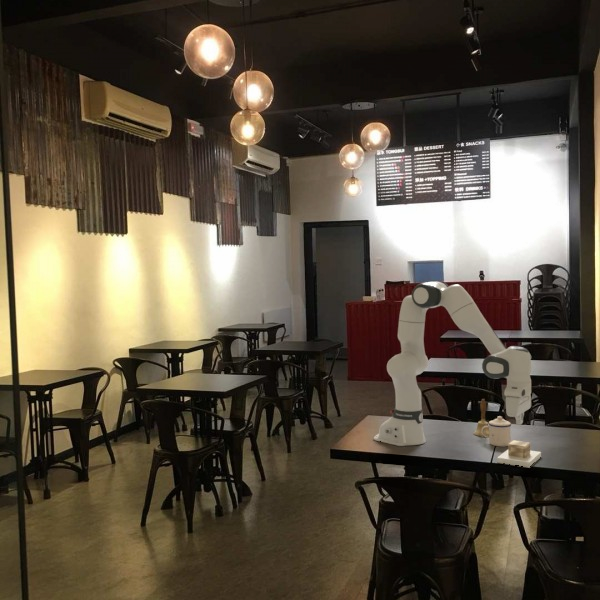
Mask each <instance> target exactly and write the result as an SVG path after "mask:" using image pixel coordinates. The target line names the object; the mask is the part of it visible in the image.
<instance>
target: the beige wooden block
mask: <svg viewBox="0 0 600 600" xmlns="http://www.w3.org/2000/svg"><path fill="white" fill-rule="evenodd" d="M507 450H508V455H509V456H515V457H522V458H526V457H527V456H528V455H529V454H530V450H531V442H529V441H521V440H514V439H513V440H511V442H510V443H509V444H508V446H507Z"/></svg>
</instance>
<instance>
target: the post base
mask: <svg viewBox="0 0 600 600" xmlns="http://www.w3.org/2000/svg"><path fill="white" fill-rule="evenodd" d="M540 457H541V458H542V451H538V450H537V451H535V450H531V449H530V454H529V455H528V456H527V457H526V458H522V457H515V456H509V455H508V449H506V450H505V451H504V452H502V453H501V454H500V455H498V456H497V459H496V461H497V462H496V463H498V464H503V463H505V464H504V465H509V464H510V465H509V466H515V465H519V466H518V467H521V466H523V467H522V468H529V469H530V468H531V467H532V466H533V465H534V464H535V463H537V461H538V460H539V459H541V458H540ZM534 462H535V463H534ZM533 463H534V464H533ZM532 464H533V465H532ZM531 465H532V466H531ZM530 466H531V467H530Z"/></svg>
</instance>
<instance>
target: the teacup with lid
mask: <svg viewBox="0 0 600 600" xmlns="http://www.w3.org/2000/svg"><path fill="white" fill-rule="evenodd" d="M511 426H512V423H511V422H510V421H508V420H505V419H504V418H503V416H501V415H499V416H497V418H494V419H493V420H490V421H488V426H484V427H483V428H482V434H483V435H484V436H483V437H485V438H488V439H489V441H488V443H489V444H490V445H492V446H495V447H508V444H509V443H510V442H512V440H511V437H512V436H511ZM484 428H489V436H487V435H485V434H484V432H483V429H484Z"/></svg>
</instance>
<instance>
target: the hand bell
mask: <svg viewBox="0 0 600 600" xmlns="http://www.w3.org/2000/svg"><path fill="white" fill-rule="evenodd" d="M479 407H480V413H481V414H480V415H481V416H480V418H481V419H480V420H479V421H478V422H477V425H476V426H477V427H476V429H475V431H474V432H473V435H475V436H478V437H485V436H484V435H483V434H482V428H483V427H484V426H489V421H486V410H487V402H486V399H485V398H482V399H481V401H480V406H479ZM483 432H484V434H485V435H487V436H489V428H484V429H483Z"/></svg>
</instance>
